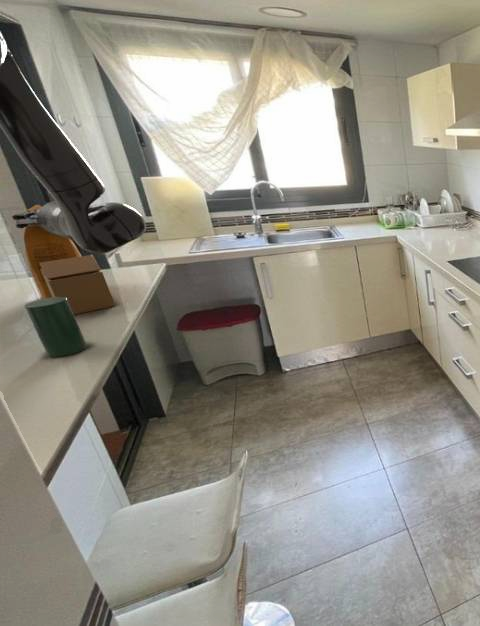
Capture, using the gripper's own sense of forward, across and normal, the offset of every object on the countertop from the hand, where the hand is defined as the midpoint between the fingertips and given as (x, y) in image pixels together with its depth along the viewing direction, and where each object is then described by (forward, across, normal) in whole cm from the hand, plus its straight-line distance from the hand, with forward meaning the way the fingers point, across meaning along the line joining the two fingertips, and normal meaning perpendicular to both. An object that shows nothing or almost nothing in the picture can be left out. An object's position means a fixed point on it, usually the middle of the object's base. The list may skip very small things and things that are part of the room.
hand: (40, 213), depth 101 cm
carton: (0, -1, +22) cm, 22 cm away
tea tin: (-29, +11, +22) cm, 38 cm away
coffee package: (+14, -3, +22) cm, 26 cm away
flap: (-3, 0, +12) cm, 12 cm away
